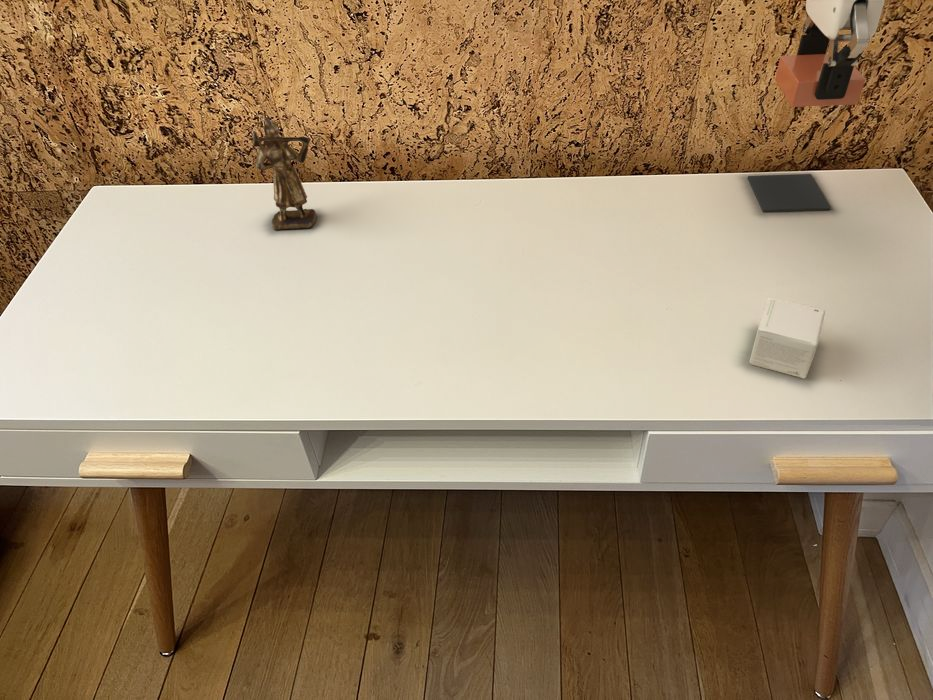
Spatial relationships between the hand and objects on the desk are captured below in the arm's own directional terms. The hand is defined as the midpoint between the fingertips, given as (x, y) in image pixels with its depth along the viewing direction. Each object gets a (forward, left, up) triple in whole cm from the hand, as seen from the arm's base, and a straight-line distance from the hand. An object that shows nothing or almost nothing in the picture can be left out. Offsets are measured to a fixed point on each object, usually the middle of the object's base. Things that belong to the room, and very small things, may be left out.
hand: (818, 81), depth 87 cm
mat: (0, 0, -15) cm, 15 cm away
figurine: (+35, +55, -15) cm, 67 cm away
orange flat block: (0, 0, -1) cm, 1 cm away
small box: (-20, +25, -15) cm, 35 cm away
